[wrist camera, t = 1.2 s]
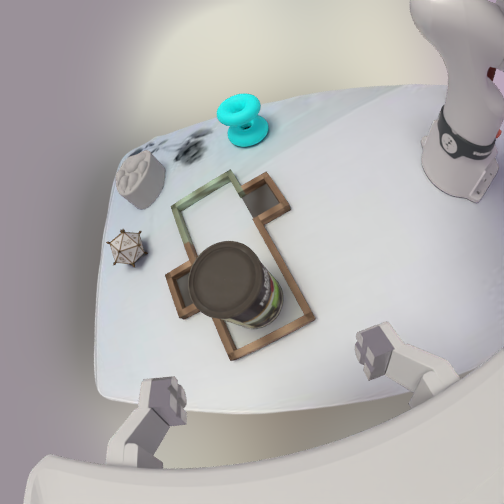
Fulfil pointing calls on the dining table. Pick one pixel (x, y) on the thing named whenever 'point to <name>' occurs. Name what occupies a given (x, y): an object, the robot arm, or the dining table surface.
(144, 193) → the lumpy-topped squat cylinder
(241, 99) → the donuts
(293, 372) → the dining table surface
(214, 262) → the coffee can
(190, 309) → the brown wooden frame
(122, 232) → the game die
